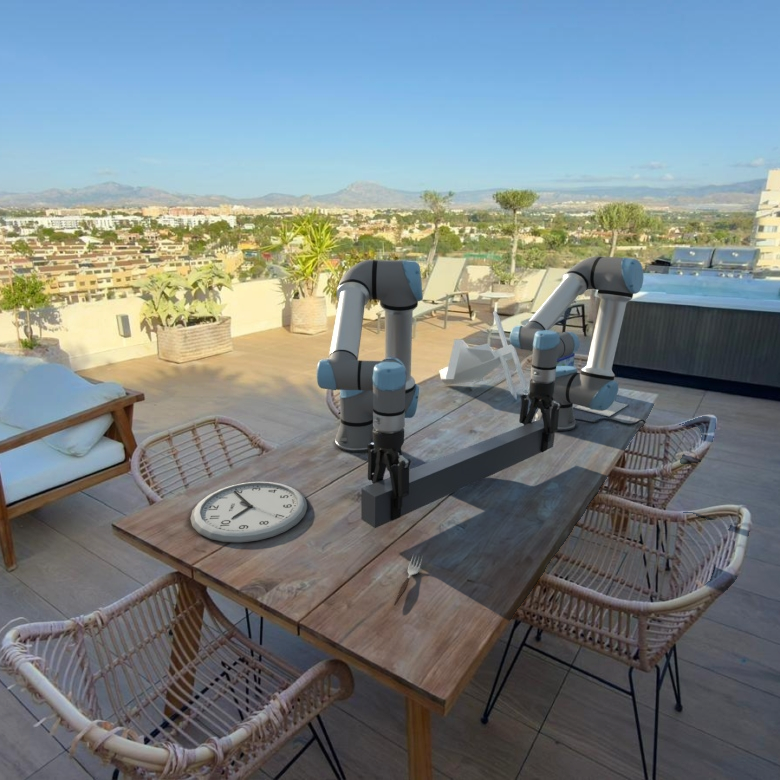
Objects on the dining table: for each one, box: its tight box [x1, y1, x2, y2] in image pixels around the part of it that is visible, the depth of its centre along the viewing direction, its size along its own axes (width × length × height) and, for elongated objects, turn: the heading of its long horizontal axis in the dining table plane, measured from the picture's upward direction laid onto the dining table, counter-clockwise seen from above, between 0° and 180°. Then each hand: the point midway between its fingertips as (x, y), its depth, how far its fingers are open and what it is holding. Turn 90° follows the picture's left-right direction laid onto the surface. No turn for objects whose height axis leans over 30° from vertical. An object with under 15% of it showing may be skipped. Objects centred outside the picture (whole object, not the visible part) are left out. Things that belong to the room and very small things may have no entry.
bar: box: [360, 419, 556, 529], centre depth 150 cm, size 77×5×9 cm, turn 131°
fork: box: [393, 553, 424, 606], centre depth 112 cm, size 3×16×2 cm, turn 160°
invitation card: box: [573, 401, 629, 418], centre depth 226 cm, size 21×1×15 cm
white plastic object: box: [438, 310, 530, 400], centre depth 245 cm, size 37×45×31 cm
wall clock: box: [190, 481, 308, 544], centre depth 139 cm, size 30×2×30 cm
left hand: (387, 512), depth 131 cm, fingers closed on bar, 5 cm apart
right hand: (535, 447), depth 172 cm, fingers closed on bar, 5 cm apart
